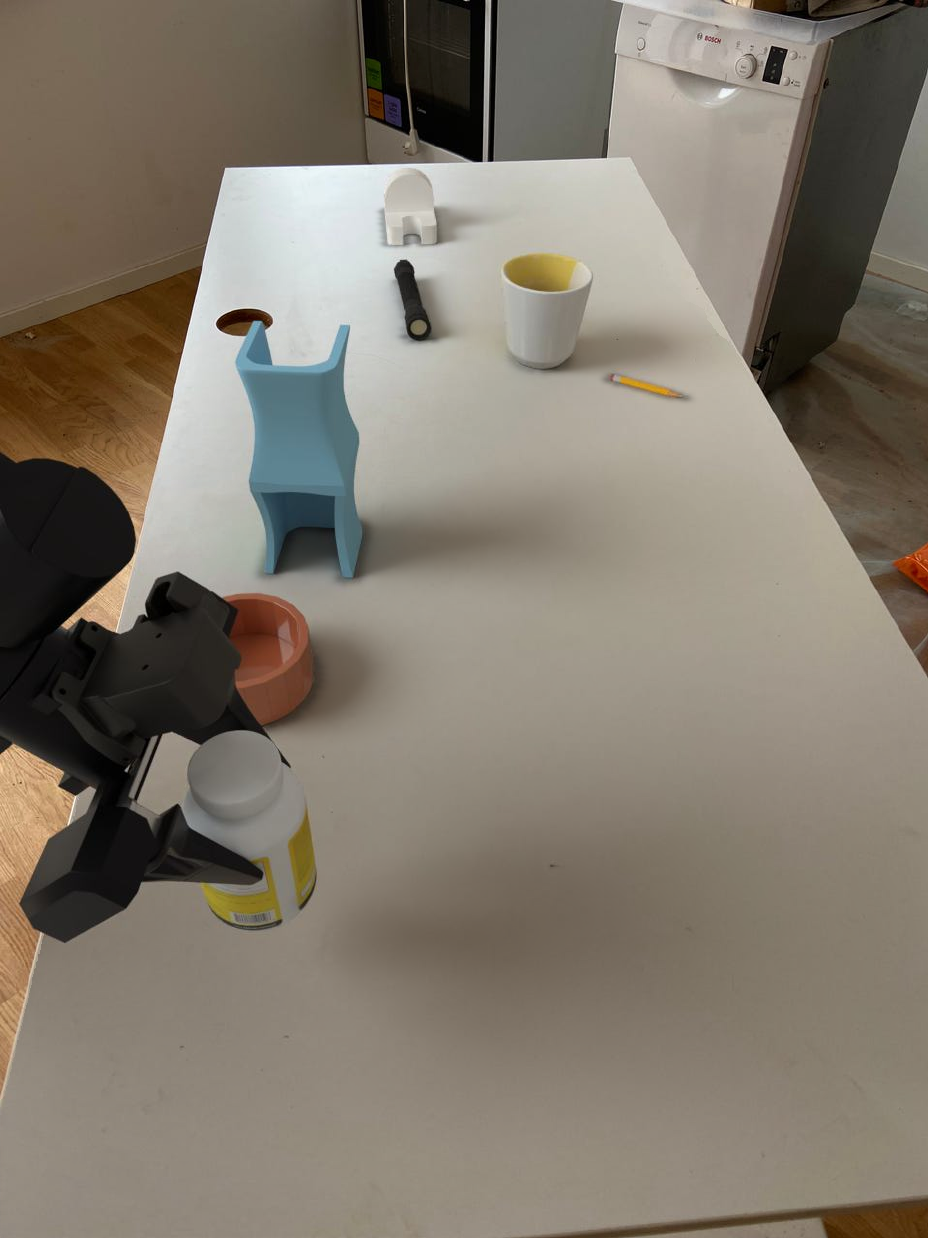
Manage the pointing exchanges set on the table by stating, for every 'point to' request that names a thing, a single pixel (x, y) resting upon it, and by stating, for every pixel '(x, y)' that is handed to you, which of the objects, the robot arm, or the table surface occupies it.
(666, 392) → the pencil
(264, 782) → the pill bottle
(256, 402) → the stacked u-channel piece
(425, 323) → the flashlight
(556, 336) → the mug
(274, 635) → the bowl
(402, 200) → the slotted bracket
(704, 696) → the table surface
